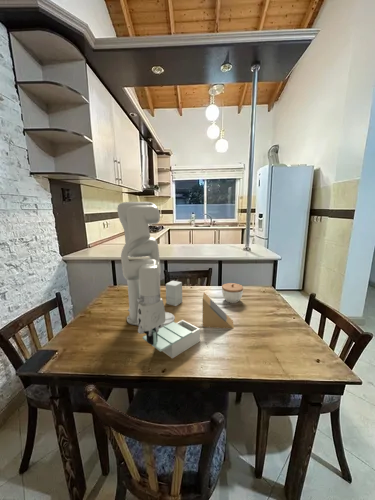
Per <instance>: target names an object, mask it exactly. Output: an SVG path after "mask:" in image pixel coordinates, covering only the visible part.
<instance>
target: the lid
mask: <svg viewBox="0 0 375 500" xmlns="http://www.w3.org/2000/svg"><path fill="white" fill-rule="evenodd" d="M151 332H152V335H153V345H151V346H152V347H153V348H154V349H156V350H157V351H159V352H163V350H164V349H166V348H168V347H170V346H171V345H173V344H175V343H177V342H178V341H180V340H182V339H184V338H185V337H187V336H189V335H191V334H192V332H191V331H190V330H188V329H186V328H184V327H182V326H180V325H179V324H177V322H175V321H174V322H172V323H170V324H168V325H166V326H165V325H164V327H162V328H160V329H159V331H158V332H157V337H158V338H156V332H155V331H154V330H152V329H151ZM142 339H143V341H145V342H147V337H146V334H145V335H144V336H142ZM147 343H148V342H147Z"/></svg>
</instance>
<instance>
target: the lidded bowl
mask: <svg viewBox="0 0 375 500" xmlns="http://www.w3.org/2000/svg"><path fill="white" fill-rule="evenodd" d="M243 290H244V287H243V285H242V284H239V283H233V282H229V283H224V284H222V285H221V292H222V296H223V299H224V300H225V301H226V302H227V303H229V302H230V304H236V303H239V301H240V300H241V299H242V297H243V293H244V291H243Z"/></svg>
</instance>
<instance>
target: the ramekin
mask: <svg viewBox="0 0 375 500" xmlns="http://www.w3.org/2000/svg"><path fill="white" fill-rule="evenodd" d="M172 322H175V315H174V314H173V313H171V312H168V311H165V322H164V323H163V324H162V325H161V326H160V328H162V327H164V325H165V326H166V325H168V324H170V323H172ZM160 328H159V329H160Z"/></svg>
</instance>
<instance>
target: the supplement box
mask: <svg viewBox="0 0 375 500" xmlns="http://www.w3.org/2000/svg"><path fill="white" fill-rule="evenodd" d="M165 300H166V301H165V303H166V304H167V305H170V306H174V307H177V306H178V305H180V304H181V303H183V281H177V280H171V281H169V282H167V283H165Z"/></svg>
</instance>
